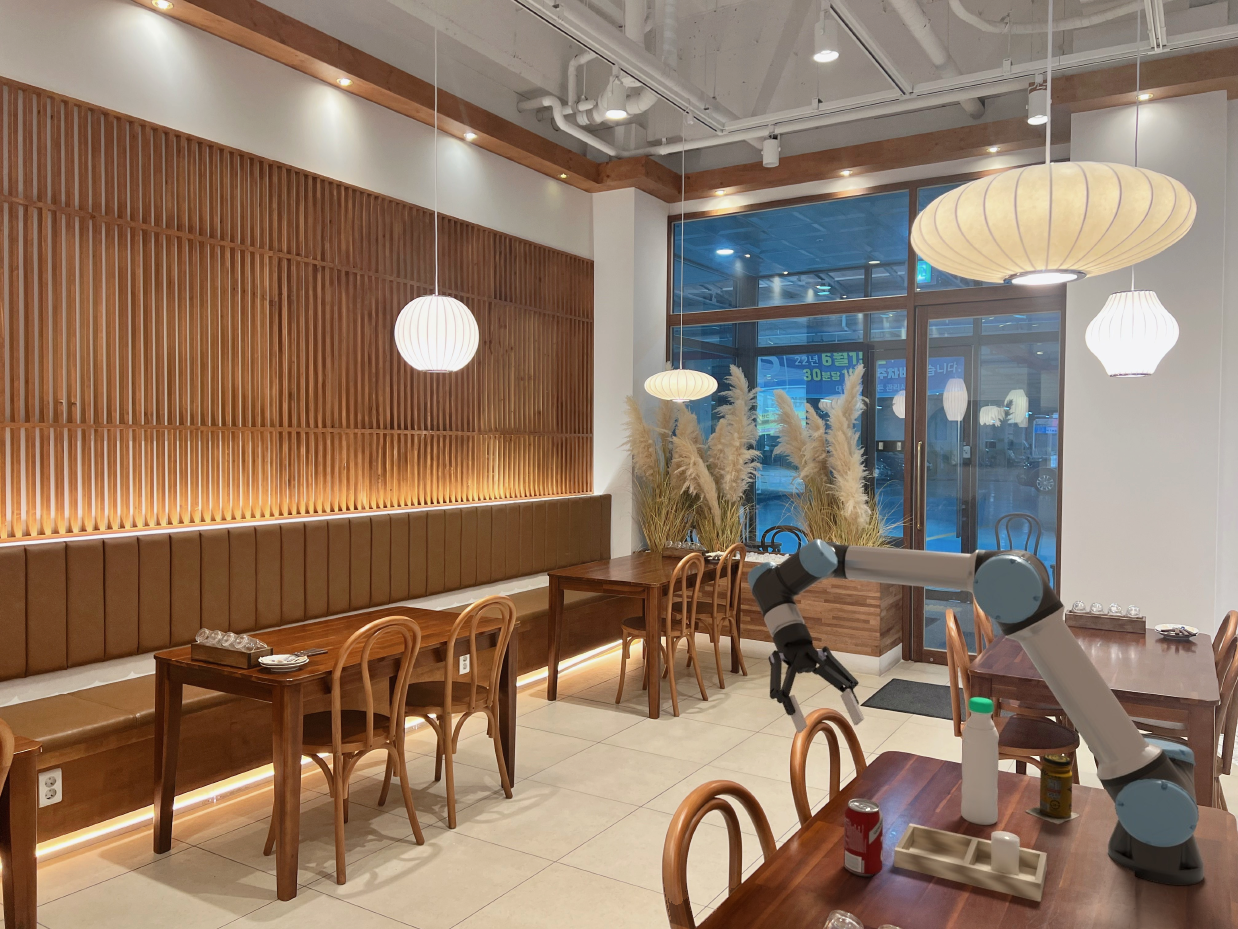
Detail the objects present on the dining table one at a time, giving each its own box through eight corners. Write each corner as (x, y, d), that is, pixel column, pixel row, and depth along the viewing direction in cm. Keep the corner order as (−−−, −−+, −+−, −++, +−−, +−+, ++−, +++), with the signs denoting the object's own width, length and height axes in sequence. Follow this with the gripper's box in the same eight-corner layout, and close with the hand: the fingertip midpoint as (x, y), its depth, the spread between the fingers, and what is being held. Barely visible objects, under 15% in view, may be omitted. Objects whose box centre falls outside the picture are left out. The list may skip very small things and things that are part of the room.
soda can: (860, 882, 154) (861, 815, 154) (836, 865, 160) (837, 800, 160) (890, 875, 157) (891, 809, 156) (865, 858, 163) (866, 795, 163)
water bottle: (1004, 821, 180) (1006, 701, 180) (984, 829, 176) (986, 706, 176) (973, 809, 186) (975, 693, 185) (953, 816, 182) (955, 698, 182)
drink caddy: (1046, 875, 157) (1046, 853, 157) (1040, 907, 146) (1040, 883, 146) (909, 843, 169) (909, 823, 169) (894, 871, 158) (894, 849, 158)
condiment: (1080, 815, 183) (1081, 759, 183) (1058, 825, 179) (1059, 767, 178) (1047, 803, 189) (1048, 749, 189) (1024, 812, 185) (1025, 756, 184)
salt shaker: (1020, 873, 155) (1020, 835, 155) (1017, 884, 151) (1018, 844, 151) (992, 867, 158) (993, 829, 158) (989, 878, 154) (989, 838, 154)
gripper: (828, 637, 188) (871, 728, 175) (730, 644, 177) (769, 742, 164) (845, 617, 183) (892, 710, 170) (745, 624, 172) (787, 723, 159)
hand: (831, 726), depth 167 cm, fingers open, 13 cm apart
